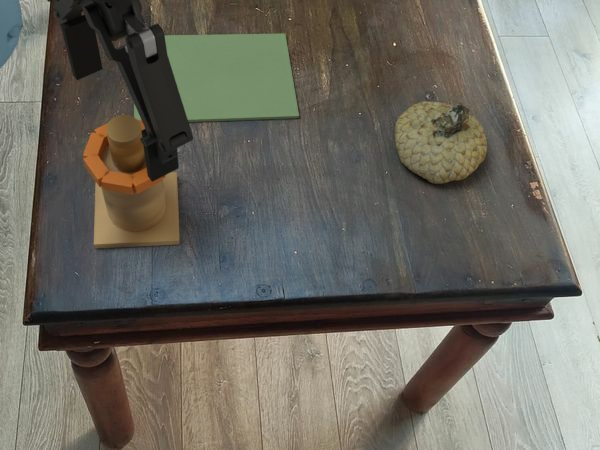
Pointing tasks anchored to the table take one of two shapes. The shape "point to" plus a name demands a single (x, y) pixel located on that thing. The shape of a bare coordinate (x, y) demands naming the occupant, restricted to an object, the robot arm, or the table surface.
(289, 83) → the mat
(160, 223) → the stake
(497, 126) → the table surface
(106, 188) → the ring
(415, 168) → the acorn cap
